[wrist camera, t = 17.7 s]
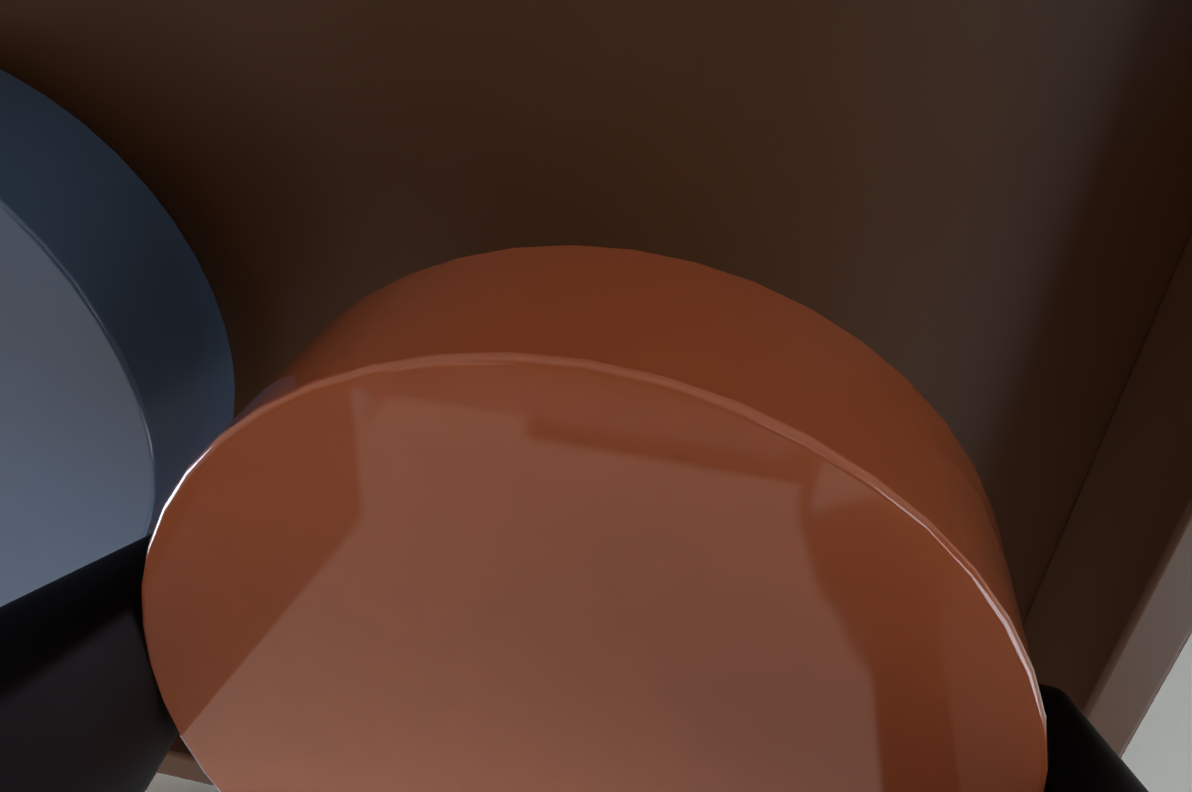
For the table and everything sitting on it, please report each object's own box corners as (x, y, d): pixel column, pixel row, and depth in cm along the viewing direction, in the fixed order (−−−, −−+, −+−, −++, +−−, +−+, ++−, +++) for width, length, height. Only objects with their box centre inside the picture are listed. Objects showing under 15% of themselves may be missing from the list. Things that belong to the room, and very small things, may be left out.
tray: (1417, -187, 8) (1663, -190, 6) (974, 796, 15) (1003, 973, 13) (-559, -324, 11) (-936, -364, 8) (-143, 561, 18) (-285, 671, 15)
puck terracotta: (1112, 281, 7) (1232, 466, 5) (894, 841, 11) (911, 1078, 9) (237, 163, 8) (39, 276, 6) (316, 715, 12) (210, 902, 10)
